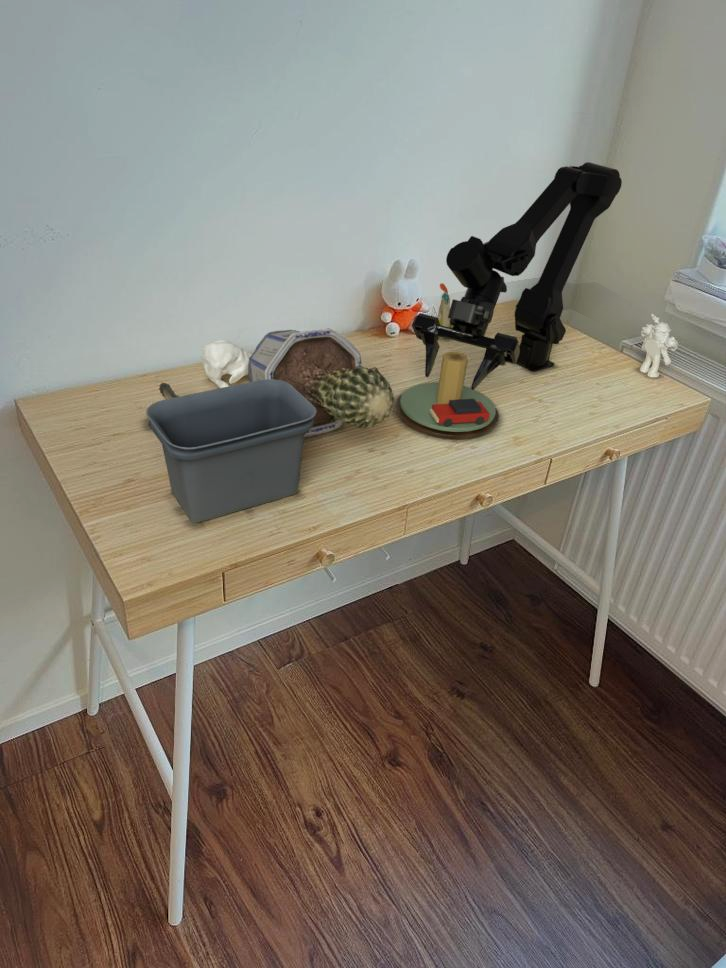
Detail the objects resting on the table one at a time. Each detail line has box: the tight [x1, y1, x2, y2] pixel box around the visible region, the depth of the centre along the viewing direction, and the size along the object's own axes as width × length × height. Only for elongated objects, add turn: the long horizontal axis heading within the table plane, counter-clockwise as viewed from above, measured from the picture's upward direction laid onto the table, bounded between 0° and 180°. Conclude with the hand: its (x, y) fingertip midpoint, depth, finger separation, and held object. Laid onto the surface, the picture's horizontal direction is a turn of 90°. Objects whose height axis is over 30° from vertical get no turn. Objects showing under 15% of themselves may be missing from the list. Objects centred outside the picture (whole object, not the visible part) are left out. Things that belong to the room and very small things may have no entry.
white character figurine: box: [639, 313, 679, 378], centre depth 155 cm, size 9×4×12 cm, turn 24°
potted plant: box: [247, 327, 396, 438], centre depth 123 cm, size 18×18×30 cm
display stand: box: [395, 393, 500, 441], centre depth 138 cm, size 18×18×1 cm
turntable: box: [400, 351, 497, 432], centre depth 134 cm, size 17×17×10 cm
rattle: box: [437, 282, 453, 340], centre depth 163 cm, size 8×8×12 cm
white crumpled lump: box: [200, 339, 253, 389], centre depth 139 cm, size 6×8×12 cm
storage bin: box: [145, 379, 317, 523], centre depth 109 cm, size 21×16×14 cm
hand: (449, 382), depth 133 cm, fingers open, 8 cm apart
